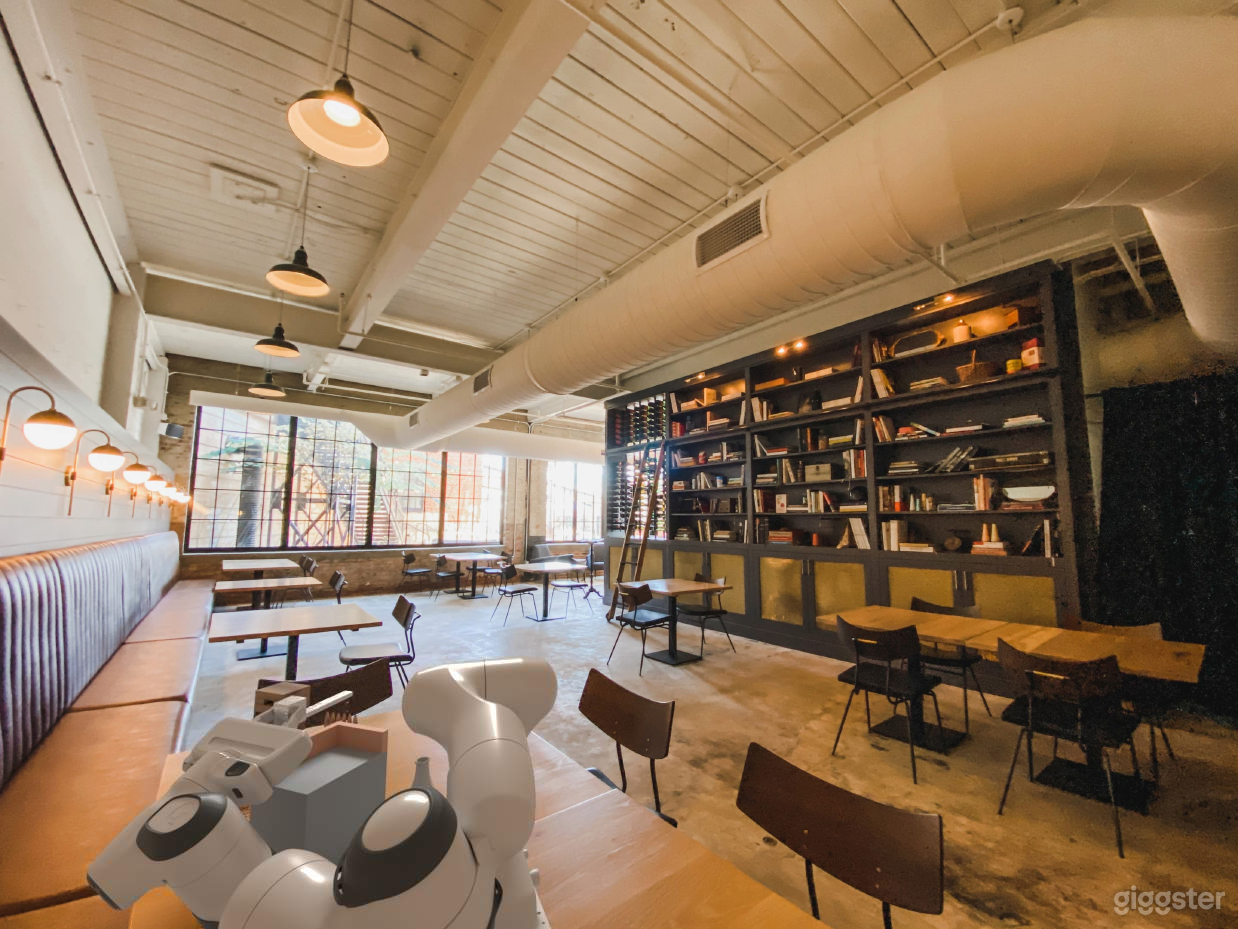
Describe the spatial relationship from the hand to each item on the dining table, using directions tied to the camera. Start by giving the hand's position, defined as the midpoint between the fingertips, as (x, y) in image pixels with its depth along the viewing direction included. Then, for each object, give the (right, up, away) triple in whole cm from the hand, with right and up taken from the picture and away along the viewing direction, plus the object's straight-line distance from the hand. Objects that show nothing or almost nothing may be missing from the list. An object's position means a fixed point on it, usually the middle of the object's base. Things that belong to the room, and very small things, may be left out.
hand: (292, 707), depth 92 cm
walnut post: (-11, -31, +11) cm, 35 cm away
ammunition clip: (-15, -35, +43) cm, 58 cm away
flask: (+15, -32, +21) cm, 41 cm away
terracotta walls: (+2, -14, +6) cm, 15 cm away
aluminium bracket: (+2, -3, +4) cm, 5 cm away
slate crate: (+2, -30, +4) cm, 31 cm away
